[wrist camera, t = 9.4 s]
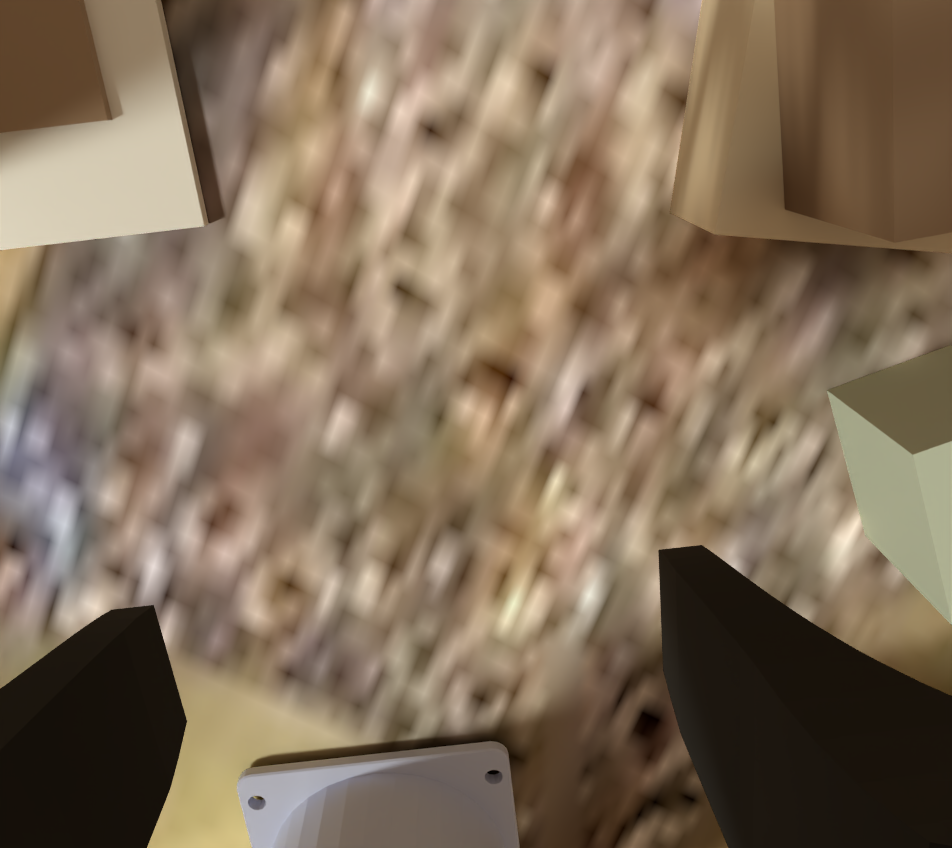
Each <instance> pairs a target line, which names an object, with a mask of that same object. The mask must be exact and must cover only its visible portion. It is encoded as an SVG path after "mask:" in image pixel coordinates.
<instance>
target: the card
mask: <svg viewBox="0 0 952 848" xmlns="http://www.w3.org/2000/svg"><path fill="white" fill-rule="evenodd" d="M208 224H209V223H208V218H207V213H206V209H205V204H204V199H203V195H202V190H201V185H200V181H199V176H198V171H197V166H196V162H195V157H194V152H193V148H192V143H191V138H190V134H189V129H188V124H187V119H186V115H185V110H184V105H183V101H182V96H181V91H180V87H179V82H178V77H177V72H176V68H175V63H174V58H173V54H172V49H171V44H170V40H169V35H168V30H167V25H166V21H165V16H164V11H163V7H162V2H161V0H0V250H5V249H14V248H22V247H31V246H39V245H48V244H57V243H65V242H74V241H82V240H91V239H99V238H108V237H116V236H125V235H133V234H142V233H151V232H159V231H168V230H176V229H185V228H193V227H202V226H206V225H208Z"/></svg>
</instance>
